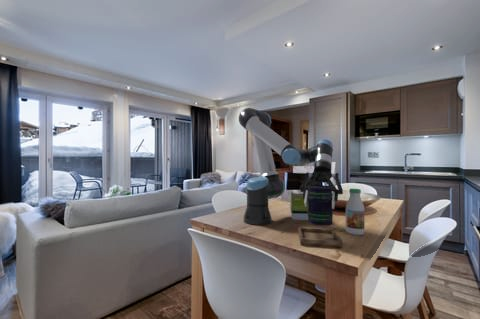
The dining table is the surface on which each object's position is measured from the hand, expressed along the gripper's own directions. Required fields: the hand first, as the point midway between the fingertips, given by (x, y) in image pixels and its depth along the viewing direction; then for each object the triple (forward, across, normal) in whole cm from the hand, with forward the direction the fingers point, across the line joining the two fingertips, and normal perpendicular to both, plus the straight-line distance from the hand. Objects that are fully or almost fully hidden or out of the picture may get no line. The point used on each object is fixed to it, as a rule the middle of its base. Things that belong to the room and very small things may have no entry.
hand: (318, 205), depth 91 cm
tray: (+8, +1, -13) cm, 15 cm away
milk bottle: (-4, -13, -25) cm, 29 cm away
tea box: (-16, +15, -37) cm, 43 cm away
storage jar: (+3, 0, -8) cm, 8 cm away
